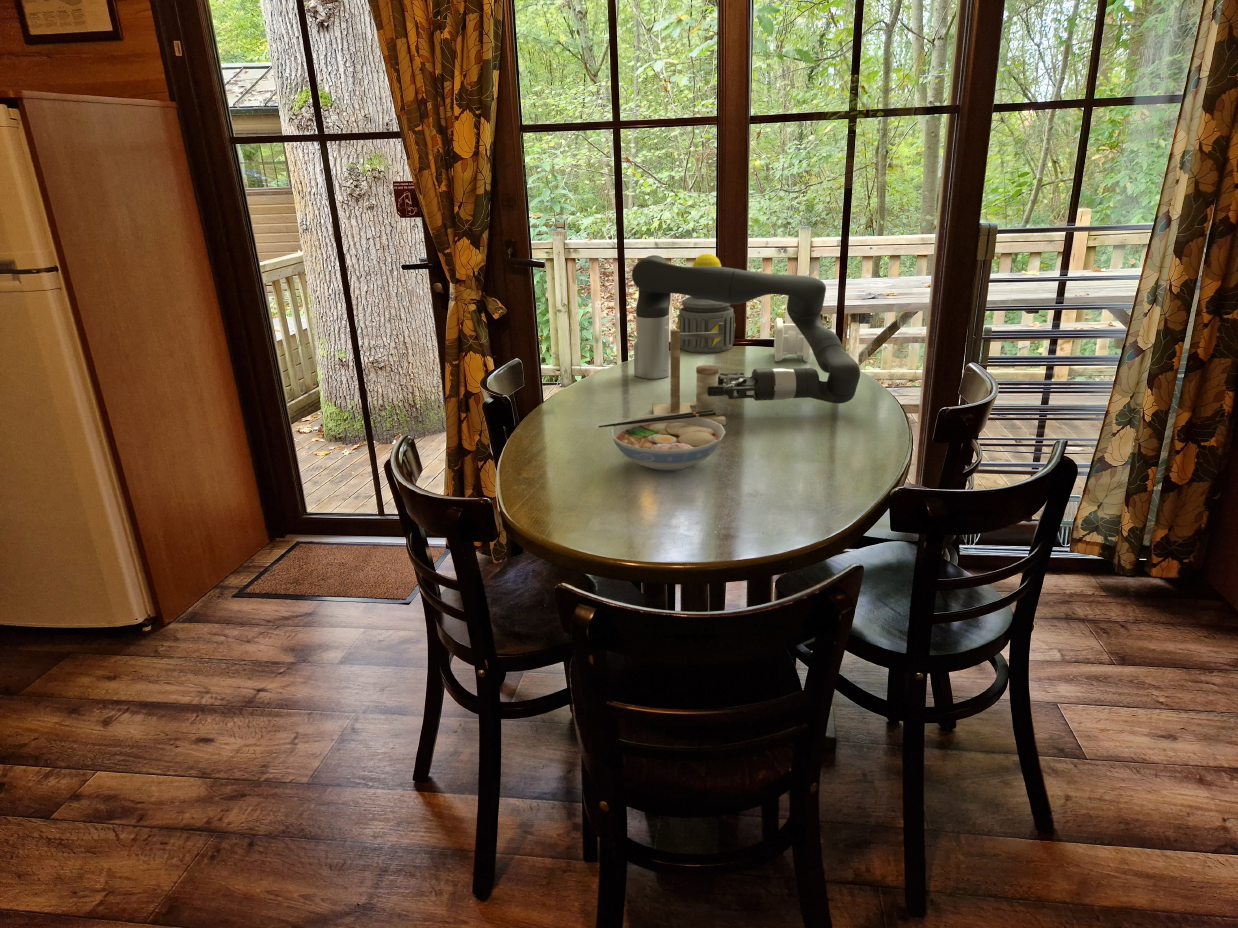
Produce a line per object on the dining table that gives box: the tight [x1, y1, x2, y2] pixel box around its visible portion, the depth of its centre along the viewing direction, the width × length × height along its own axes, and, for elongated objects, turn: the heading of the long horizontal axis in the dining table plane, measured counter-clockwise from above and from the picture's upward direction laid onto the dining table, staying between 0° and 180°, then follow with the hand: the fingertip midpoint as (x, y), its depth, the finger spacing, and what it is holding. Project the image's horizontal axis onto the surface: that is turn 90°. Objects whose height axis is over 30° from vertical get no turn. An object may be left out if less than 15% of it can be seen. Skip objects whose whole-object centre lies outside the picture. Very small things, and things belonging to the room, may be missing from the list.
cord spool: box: [695, 364, 720, 417], centre depth 185 cm, size 5×5×12 cm
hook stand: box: [651, 323, 727, 426], centre depth 183 cm, size 16×14×22 cm
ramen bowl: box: [598, 409, 726, 473], centre depth 156 cm, size 25×23×8 cm
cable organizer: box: [773, 317, 811, 363], centre depth 239 cm, size 15×11×12 cm
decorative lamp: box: [675, 253, 737, 354], centre depth 253 cm, size 19×19×30 cm
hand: (704, 386), depth 185 cm, fingers open, 8 cm apart
